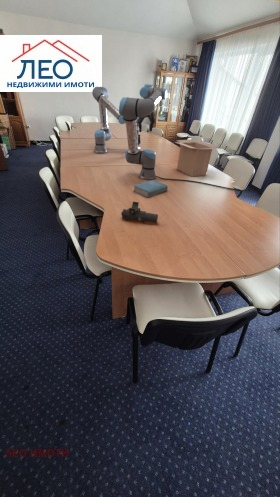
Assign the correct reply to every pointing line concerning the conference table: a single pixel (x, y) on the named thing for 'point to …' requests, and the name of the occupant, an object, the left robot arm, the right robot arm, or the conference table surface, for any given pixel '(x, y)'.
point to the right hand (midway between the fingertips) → (145, 131)
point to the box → (194, 157)
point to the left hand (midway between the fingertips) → (134, 150)
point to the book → (150, 188)
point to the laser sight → (138, 214)
